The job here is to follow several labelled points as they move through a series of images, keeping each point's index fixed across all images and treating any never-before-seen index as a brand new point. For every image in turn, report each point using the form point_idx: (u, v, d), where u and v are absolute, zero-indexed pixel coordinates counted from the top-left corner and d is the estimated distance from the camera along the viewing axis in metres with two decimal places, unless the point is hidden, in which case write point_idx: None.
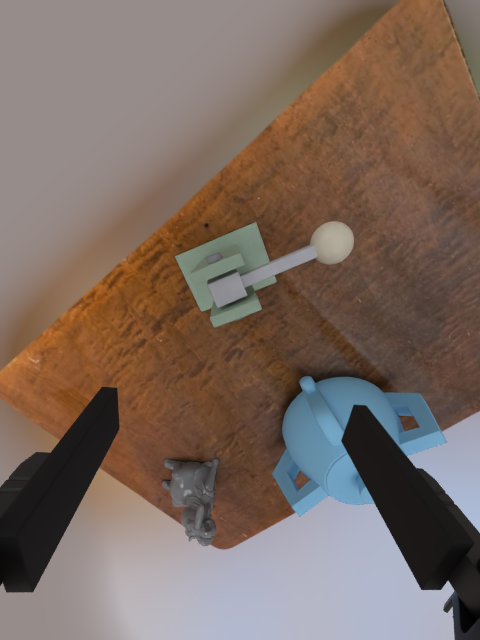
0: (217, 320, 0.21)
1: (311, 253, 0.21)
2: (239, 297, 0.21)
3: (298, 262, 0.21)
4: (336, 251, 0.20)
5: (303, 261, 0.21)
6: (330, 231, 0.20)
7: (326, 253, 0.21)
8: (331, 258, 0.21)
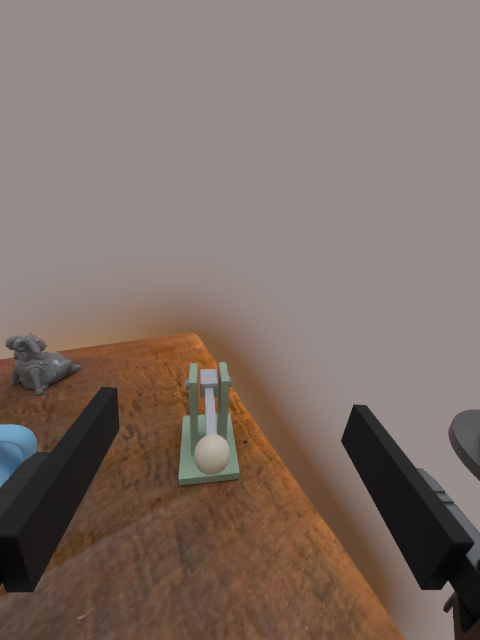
0: (194, 365, 0.34)
1: (211, 431, 0.26)
2: (201, 380, 0.32)
3: (207, 421, 0.27)
4: (208, 438, 0.24)
5: (207, 425, 0.27)
6: (224, 440, 0.24)
7: (208, 435, 0.25)
8: (203, 438, 0.25)
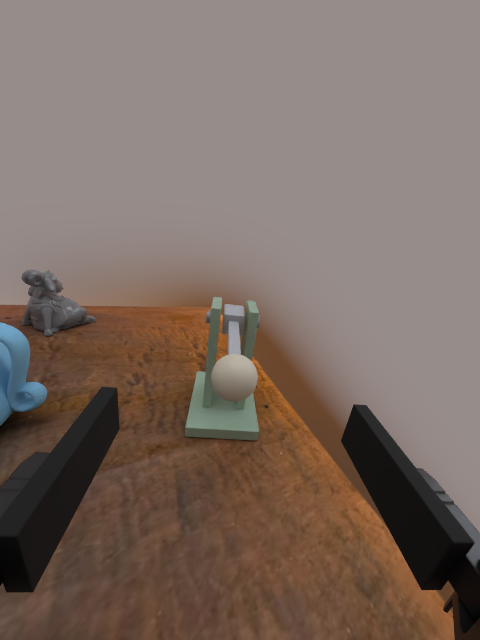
0: (218, 298, 0.29)
1: None
2: (225, 311, 0.27)
3: (230, 347, 0.22)
4: (231, 355, 0.19)
5: (229, 350, 0.21)
6: (251, 361, 0.19)
7: None
8: None
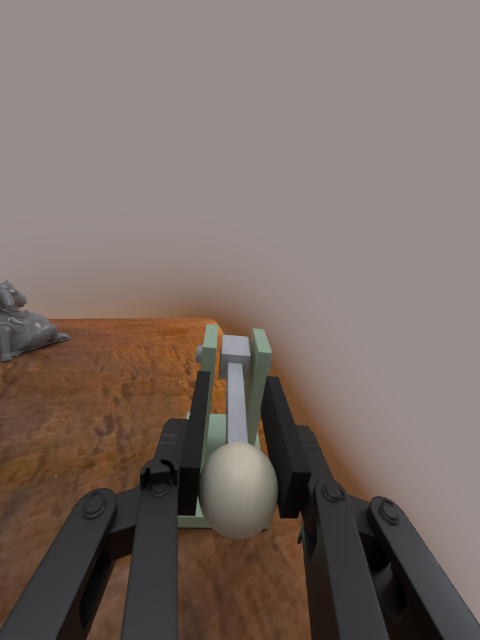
0: (213, 326, 0.21)
1: (237, 437, 0.13)
2: (223, 348, 0.19)
3: (231, 417, 0.14)
4: (233, 451, 0.11)
5: (230, 423, 0.14)
6: (267, 460, 0.11)
7: (232, 443, 0.12)
8: (221, 448, 0.11)
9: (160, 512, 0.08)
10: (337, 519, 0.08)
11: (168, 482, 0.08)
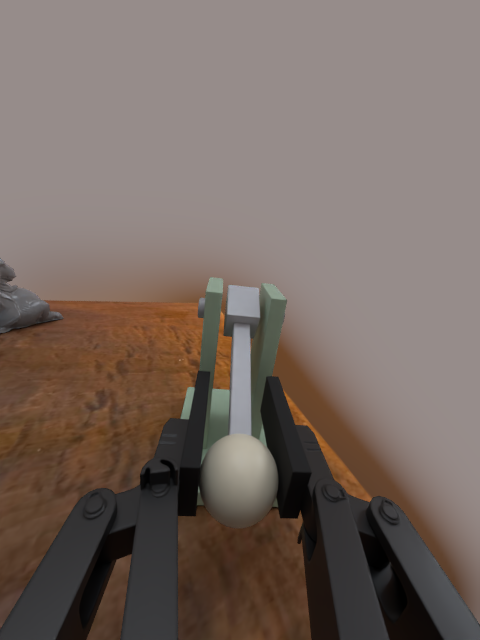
0: (217, 279, 0.18)
1: (240, 425, 0.12)
2: (229, 306, 0.16)
3: (235, 399, 0.13)
4: (234, 456, 0.10)
5: (233, 407, 0.13)
6: (270, 462, 0.11)
7: (234, 441, 0.11)
8: (222, 447, 0.11)
9: (160, 512, 0.08)
10: (337, 520, 0.08)
11: (168, 482, 0.08)
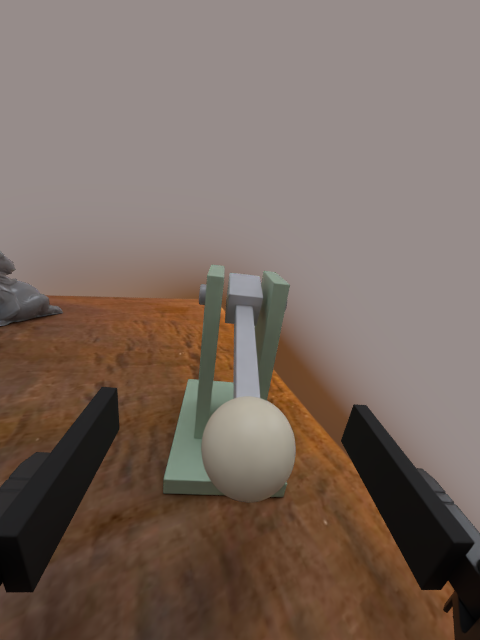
0: (218, 266, 0.18)
1: (247, 390, 0.11)
2: (231, 288, 0.16)
3: (240, 367, 0.12)
4: (243, 408, 0.09)
5: (238, 374, 0.12)
6: (284, 419, 0.09)
7: (242, 398, 0.10)
8: (229, 403, 0.09)
9: None
10: None
11: None
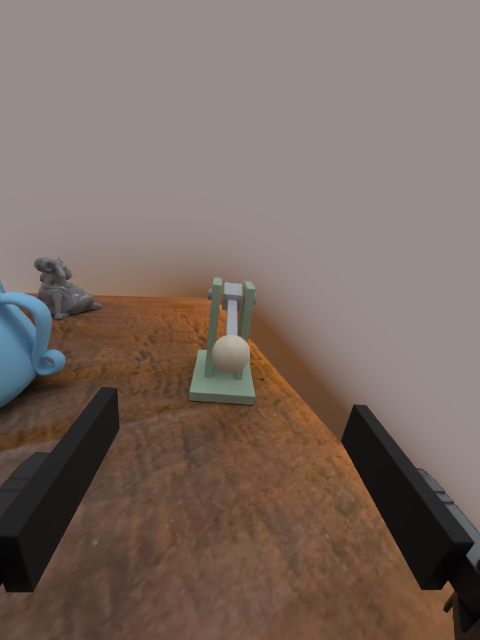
0: (218, 278, 0.32)
1: (231, 334, 0.25)
2: (225, 290, 0.30)
3: (229, 326, 0.26)
4: (228, 336, 0.23)
5: (228, 329, 0.25)
6: (245, 342, 0.23)
7: (228, 334, 0.23)
8: (223, 336, 0.23)
9: None
10: None
11: None
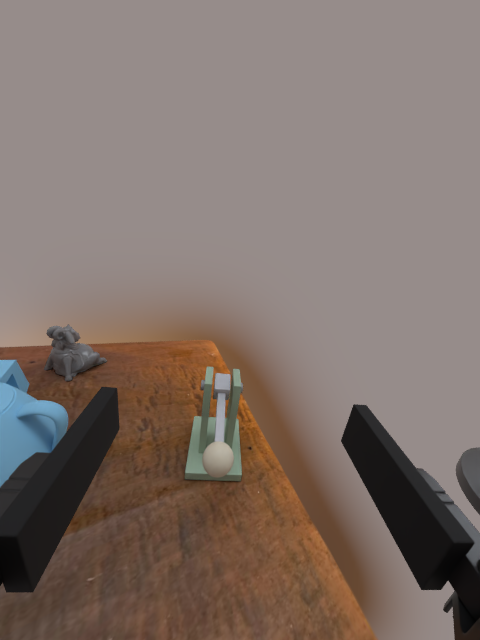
0: (210, 368, 0.37)
1: (219, 438, 0.29)
2: (215, 384, 0.35)
3: (217, 427, 0.30)
4: (215, 447, 0.27)
5: (216, 431, 0.30)
6: (229, 450, 0.28)
7: (216, 442, 0.28)
8: (211, 445, 0.28)
9: None
10: None
11: None
